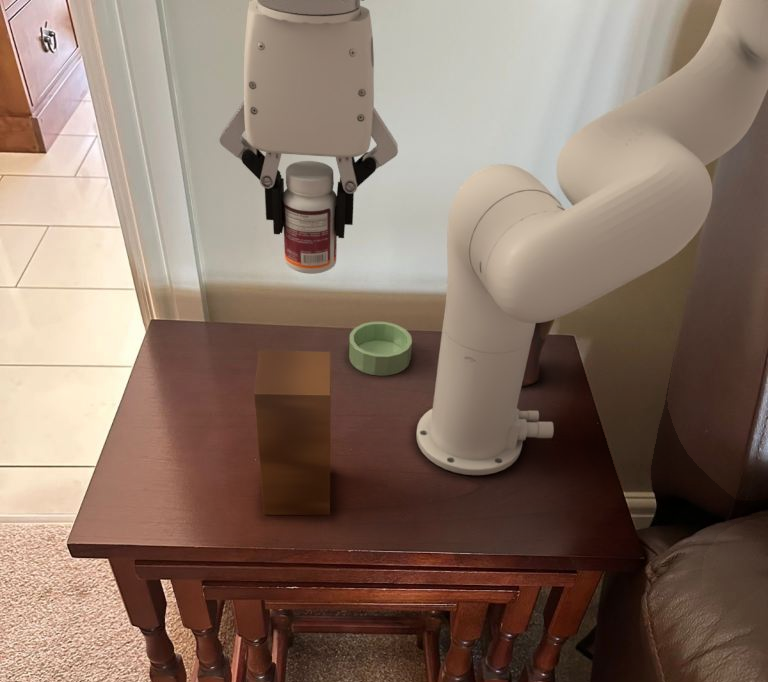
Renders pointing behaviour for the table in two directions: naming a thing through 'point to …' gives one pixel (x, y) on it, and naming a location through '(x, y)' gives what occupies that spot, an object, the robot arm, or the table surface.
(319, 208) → the pill bottle
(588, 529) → the table surface
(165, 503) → the table surface
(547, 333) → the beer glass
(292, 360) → the pedestal
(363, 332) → the bowl
